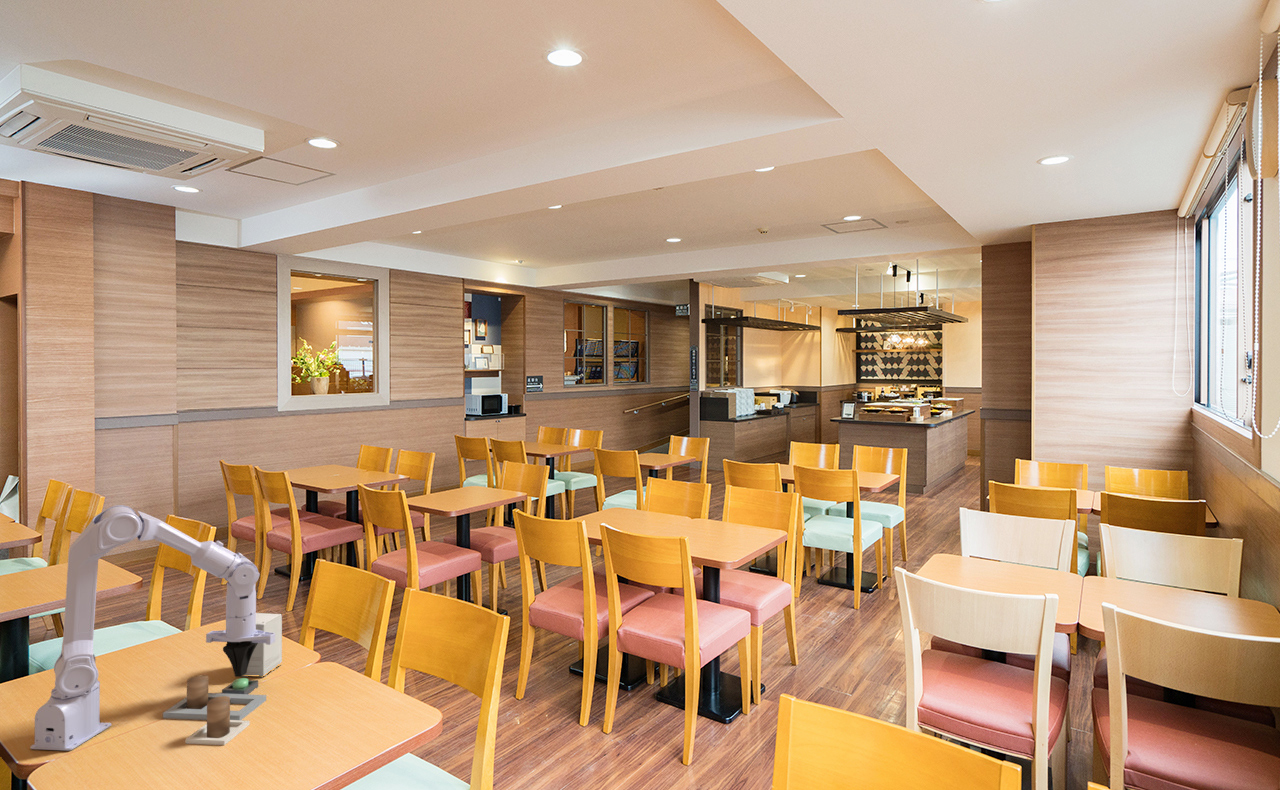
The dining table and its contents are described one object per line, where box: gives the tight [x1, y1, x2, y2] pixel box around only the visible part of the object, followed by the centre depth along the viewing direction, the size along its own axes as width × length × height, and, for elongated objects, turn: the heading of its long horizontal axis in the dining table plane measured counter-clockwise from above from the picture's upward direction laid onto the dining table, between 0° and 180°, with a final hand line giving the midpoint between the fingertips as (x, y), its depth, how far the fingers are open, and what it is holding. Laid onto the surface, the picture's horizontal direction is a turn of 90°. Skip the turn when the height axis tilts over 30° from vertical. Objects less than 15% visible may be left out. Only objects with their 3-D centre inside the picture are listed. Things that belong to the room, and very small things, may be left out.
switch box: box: [221, 679, 259, 694], centre depth 149 cm, size 5×5×2 cm
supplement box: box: [244, 612, 283, 676], centre depth 160 cm, size 7×7×13 cm
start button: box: [232, 677, 249, 689], centre depth 149 cm, size 3×3×2 cm
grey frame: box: [162, 692, 267, 721], centre depth 141 cm, size 9×16×2 cm, turn 88°
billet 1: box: [186, 674, 209, 709], centre depth 141 cm, size 4×4×6 cm
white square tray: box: [184, 719, 251, 746], centre depth 131 cm, size 8×8×1 cm
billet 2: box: [206, 696, 231, 738], centre depth 131 cm, size 4×4×6 cm
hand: (240, 674), depth 149 cm, fingers closed
